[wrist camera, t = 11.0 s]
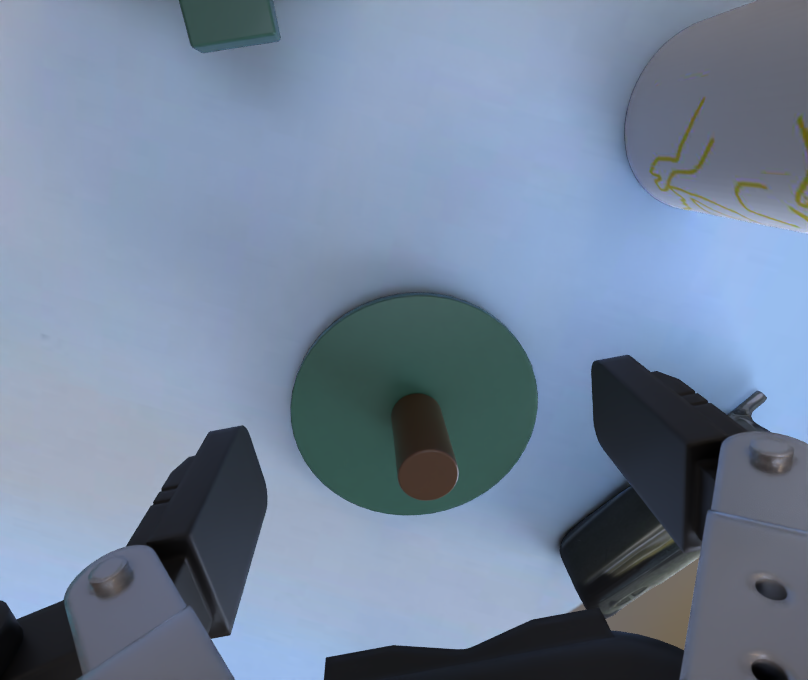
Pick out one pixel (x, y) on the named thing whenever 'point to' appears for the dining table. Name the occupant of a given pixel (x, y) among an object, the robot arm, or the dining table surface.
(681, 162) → the cup
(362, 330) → the pot lid
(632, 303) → the dining table surface
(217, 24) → the pot
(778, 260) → the dining table surface
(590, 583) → the mobile phone
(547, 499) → the dining table surface
